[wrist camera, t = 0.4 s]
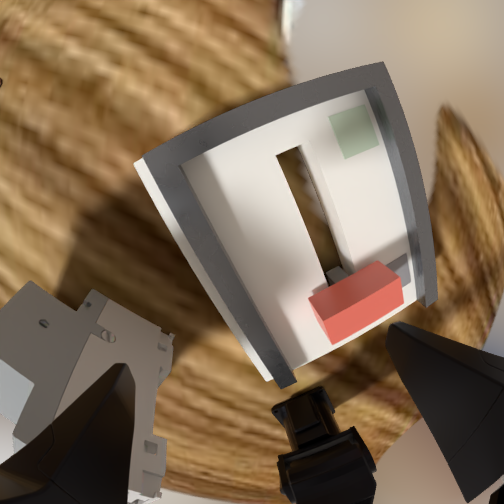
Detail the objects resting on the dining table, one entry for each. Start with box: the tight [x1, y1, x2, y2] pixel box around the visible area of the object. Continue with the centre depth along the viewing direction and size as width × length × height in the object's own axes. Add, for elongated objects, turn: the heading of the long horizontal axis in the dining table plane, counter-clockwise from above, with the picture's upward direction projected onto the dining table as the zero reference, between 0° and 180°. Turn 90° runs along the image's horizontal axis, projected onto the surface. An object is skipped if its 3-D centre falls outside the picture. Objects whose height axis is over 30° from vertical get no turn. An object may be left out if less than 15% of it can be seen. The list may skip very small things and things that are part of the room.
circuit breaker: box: [0, 281, 175, 504], centre depth 15 cm, size 8×14×15 cm, turn 53°
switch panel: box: [133, 90, 417, 382], centre depth 20 cm, size 20×18×3 cm
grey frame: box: [142, 62, 438, 389], centre depth 18 cm, size 20×16×2 cm
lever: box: [308, 260, 404, 345], centre depth 20 cm, size 2×6×6 cm, turn 114°
